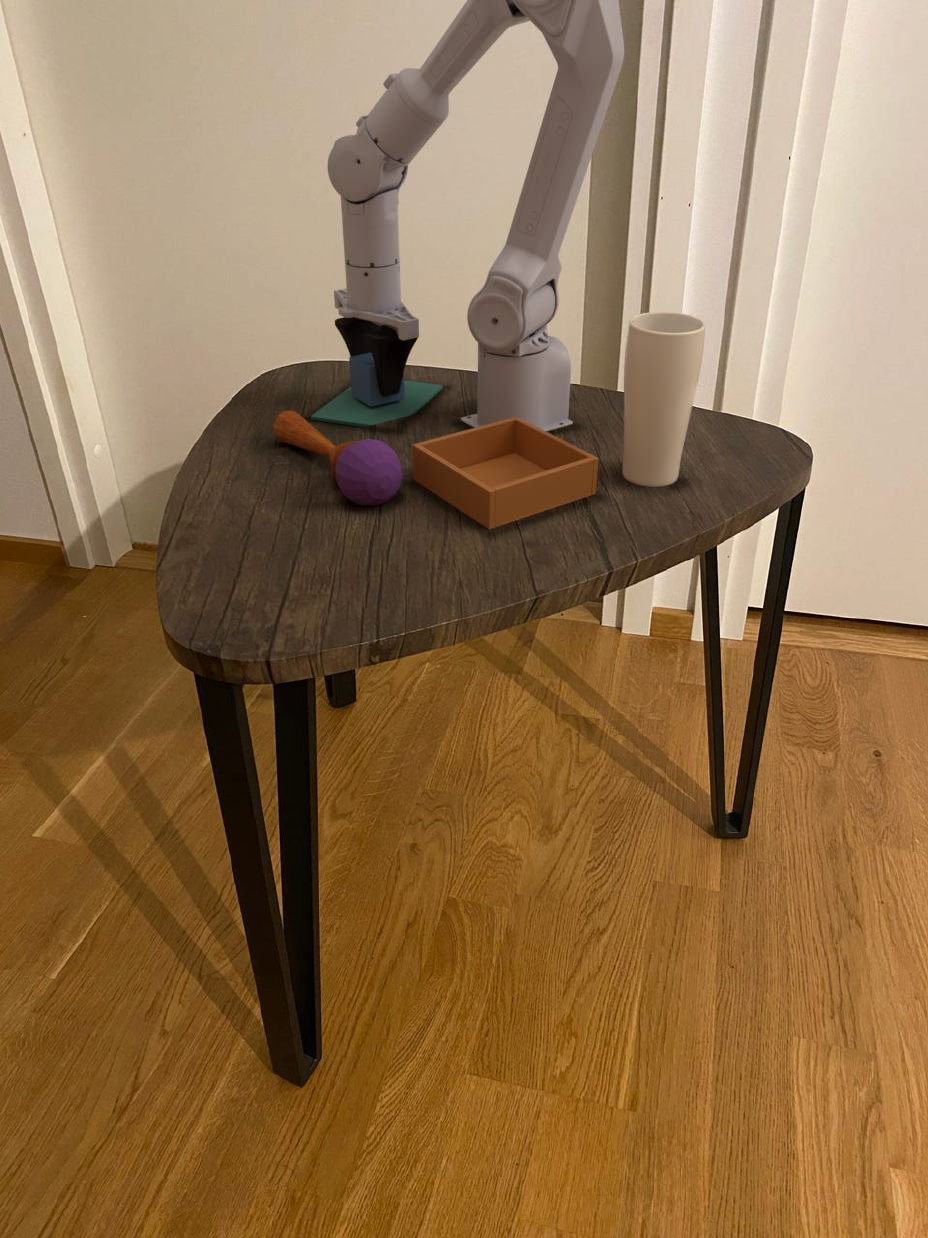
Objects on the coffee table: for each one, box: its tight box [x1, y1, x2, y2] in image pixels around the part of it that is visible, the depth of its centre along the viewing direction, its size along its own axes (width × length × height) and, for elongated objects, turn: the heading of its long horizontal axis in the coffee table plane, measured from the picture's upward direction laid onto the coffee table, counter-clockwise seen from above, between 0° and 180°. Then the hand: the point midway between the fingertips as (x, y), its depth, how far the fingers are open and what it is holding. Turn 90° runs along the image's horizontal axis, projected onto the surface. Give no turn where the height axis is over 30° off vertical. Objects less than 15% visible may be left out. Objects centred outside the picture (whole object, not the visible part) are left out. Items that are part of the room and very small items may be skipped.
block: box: [348, 353, 405, 407], centre depth 109 cm, size 4×4×4 cm
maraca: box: [272, 410, 404, 507], centre depth 93 cm, size 6×6×20 cm
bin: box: [412, 417, 599, 530], centre depth 91 cm, size 12×12×4 cm
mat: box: [310, 379, 444, 428], centre depth 110 cm, size 14×10×1 cm
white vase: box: [621, 311, 706, 488], centre depth 90 cm, size 7×7×15 cm
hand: (378, 387), depth 110 cm, fingers closed on block, 4 cm apart
